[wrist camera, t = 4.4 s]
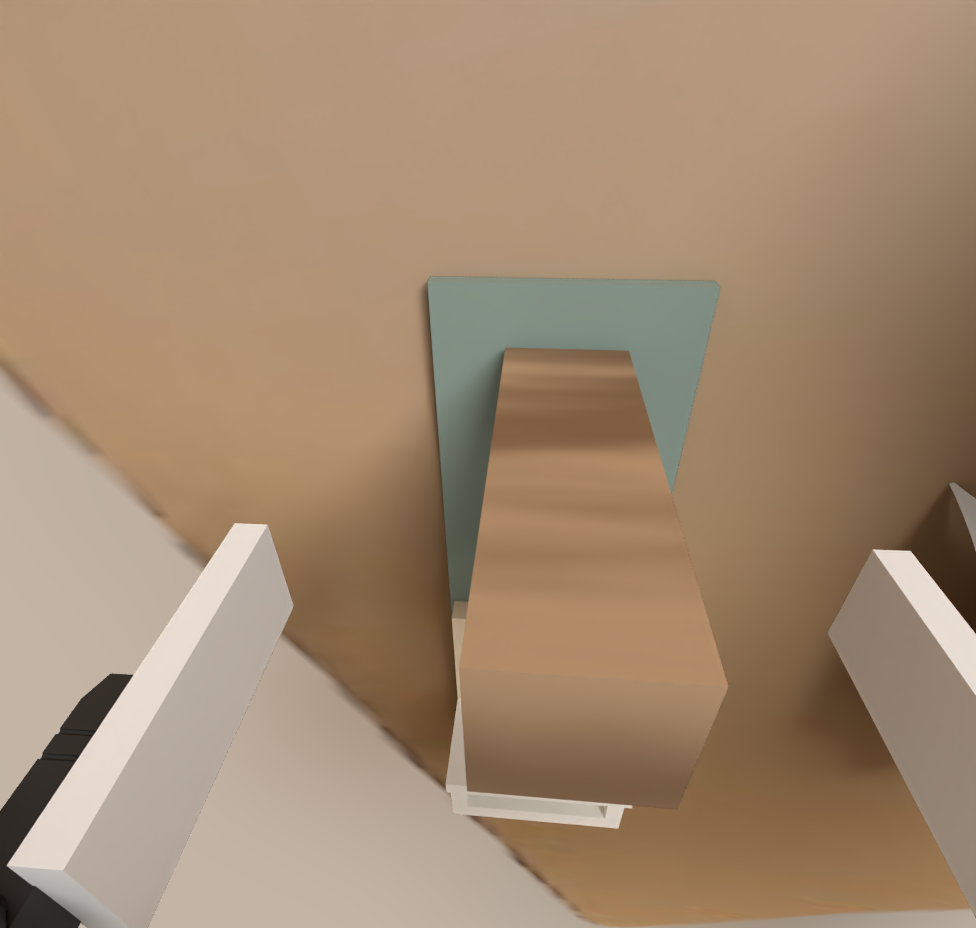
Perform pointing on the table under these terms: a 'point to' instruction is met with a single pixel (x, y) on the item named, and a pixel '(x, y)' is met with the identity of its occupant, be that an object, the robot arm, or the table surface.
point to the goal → (519, 797)
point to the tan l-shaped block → (582, 597)
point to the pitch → (551, 325)
